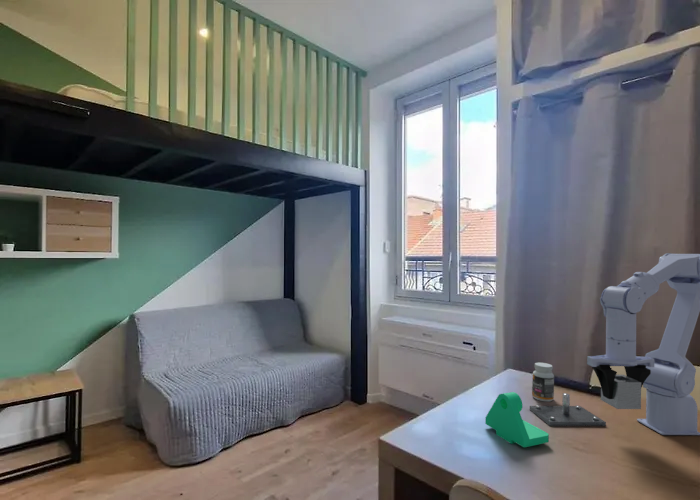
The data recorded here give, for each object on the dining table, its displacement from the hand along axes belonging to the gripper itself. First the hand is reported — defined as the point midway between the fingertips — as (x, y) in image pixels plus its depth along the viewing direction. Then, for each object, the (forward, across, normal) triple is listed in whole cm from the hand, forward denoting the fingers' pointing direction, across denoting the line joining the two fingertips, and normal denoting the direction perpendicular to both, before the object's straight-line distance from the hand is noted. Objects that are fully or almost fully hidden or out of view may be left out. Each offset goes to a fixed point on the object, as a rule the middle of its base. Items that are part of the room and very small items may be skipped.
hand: (620, 397), depth 89 cm
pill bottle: (+10, -5, +24) cm, 26 cm away
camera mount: (+10, -24, +1) cm, 26 cm away
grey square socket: (+2, 0, 0) cm, 2 cm away
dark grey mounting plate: (+9, -6, +11) cm, 16 cm away
